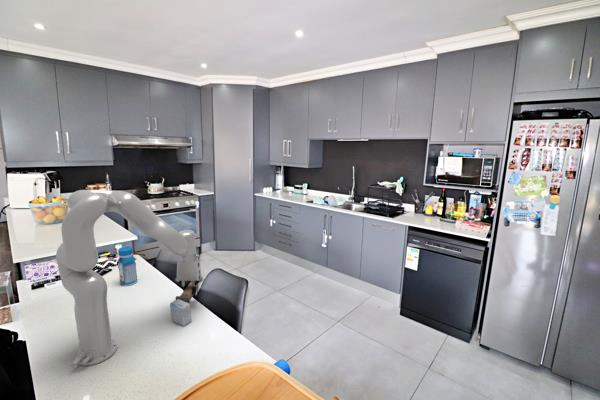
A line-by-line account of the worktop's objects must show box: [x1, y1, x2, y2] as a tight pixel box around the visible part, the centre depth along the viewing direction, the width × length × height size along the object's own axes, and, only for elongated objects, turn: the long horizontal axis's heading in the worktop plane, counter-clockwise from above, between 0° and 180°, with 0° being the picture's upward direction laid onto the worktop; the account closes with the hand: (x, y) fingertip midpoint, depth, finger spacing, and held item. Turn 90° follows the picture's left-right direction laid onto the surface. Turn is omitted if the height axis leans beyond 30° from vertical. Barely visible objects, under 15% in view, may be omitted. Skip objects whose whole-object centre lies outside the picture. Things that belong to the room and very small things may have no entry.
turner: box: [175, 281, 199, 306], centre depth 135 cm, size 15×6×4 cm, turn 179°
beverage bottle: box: [117, 246, 138, 287], centre depth 158 cm, size 8×8×20 cm
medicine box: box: [169, 299, 192, 327], centre depth 125 cm, size 8×4×9 cm, turn 61°
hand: (190, 293), depth 137 cm, fingers closed on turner, 3 cm apart
